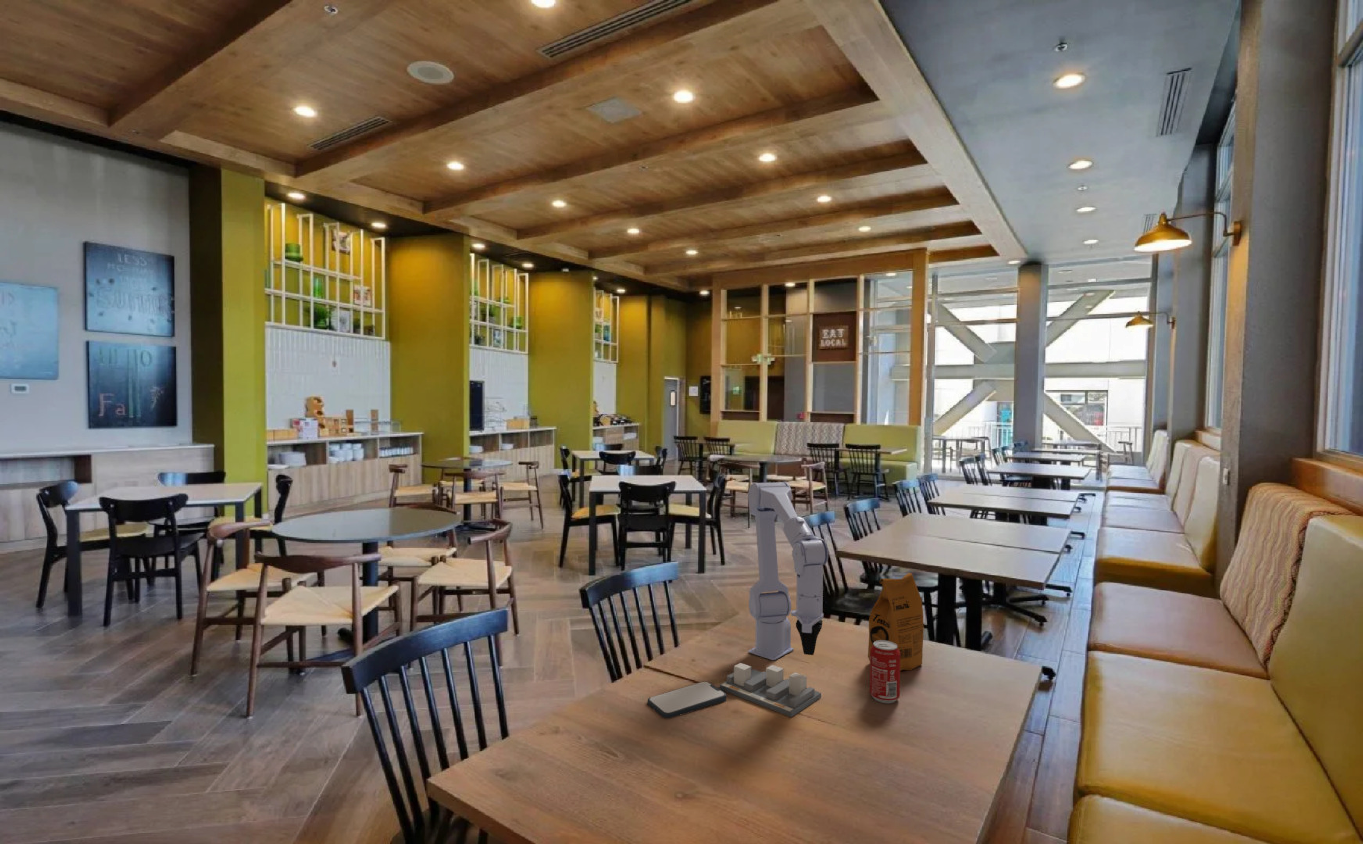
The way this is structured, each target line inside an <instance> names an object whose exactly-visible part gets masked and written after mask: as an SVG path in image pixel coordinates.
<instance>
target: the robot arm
mask: <svg viewBox="0 0 1363 844" xmlns="http://www.w3.org/2000/svg"><path fill="white" fill-rule="evenodd" d="M747 496H748V498H747V499H748V510H749V514H750V515H751V516H754V519H755V530H756V531H755V533H756V546H757V559H758V560H757V561H758V576H759V579H758V580H757V581H756V583H754V584H753V585H752V586H750V588H749V599H748V610H749V614H750V615H751V616H752V618H753V619H755V646H754V647H752V648H751V649H748V653H750V654H753V655H755V656H759V657H762V658H765V659H767V660H771V661H775V660H777V659H778V660H779V658H781V657H783V656H785V655H788V654H789V653H791V652H792V651H794V650H795V649H794V647H792V643H791V641H792V638H791V637H792V635H791V634H792V627H791V626H792V625H791V622H790V620H789V618H788V616H789V615H790V616H792V617H795V618H796V619H797V620H796V622H795V628H796V630H797V632H798V634H799V637H800V641H801V646H802V650H803V651H802V652H803V654H804V655H805V656H814V655H815V650H816V645H817V639H818V635H819V634H820V632H821V630H822V627H823V618H824V613H823V601H824V600H823V597H824V596H823V595H824V594H823V593H824V592H823V591H824V586H823V585H824V583H823V582H824V566H825V565H826V564H827V563H828V560H829V549H828V546H827V543H826V541H825V540H824V538H821V537H819V536H815V534H814V533H813V531H812V529H811V527H810V526H809V525H808V522H807V521H806V520H805V519H804V517H801V516H798V515H797V513H796V510H795V508H794V505H793V503H792V498H793V497H792V496H793V495H792V488H791V486H790V484H789V483H788V482H787V481H780V482H779V481H778V482H752V483H751V484H750V485H749V489H748V492H747ZM777 516H778V517H779V519H780V520H781V522H782V523H783V527H782V531H783V533H784V535H785V537H786V539H787V541H788V543H789V544H790V547H792V550H791V555H792V560H793V564H794V565H793V566H794V568H793V569H794V572H795V573H796V601H795V603H796V608H795V610H794V609H793V610H792V600H791V597H790V593H789V587H788V586H787V585H786V584H784V583H783V582H782V581H780V579H779V566H778V553H777V551H778V550H777V541H776V539H777V538H776V524H775V519H776V517H777Z"/></svg>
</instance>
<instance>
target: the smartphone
mask: <svg viewBox="0 0 1363 844" xmlns="http://www.w3.org/2000/svg"><path fill="white" fill-rule="evenodd" d="M726 700H727V692H725V691H723V690H720V689H719V687H717V686H715V685H714V684H712V683H711V682H709V681H705V680H704V681H700V682H697V683H694V684H689V685H687V686H684V687H681V688H677V689H674V690H671V691H667V692H664V693H661V694H658V695H653V696H651V697H649V698H647V702H646V703H647V705H648V707H650V708H651V709H652V710H653V711H655V712H656V713H657V714H659V715H660V717H661V718H664V719H673V718H675V717H678V715H679V716H681V715H680V714H682V715H685V714H689V713H692V712H695V711H699V710H702V709H704V707H705V708H707V707H711V706H710V705H712V706H715V705H717V703H718V704H720V703H724V702H725V701H726ZM714 704H715V705H714ZM701 708H702V709H701ZM698 709H699V710H698ZM691 711H692V712H691ZM688 712H689V713H688Z"/></svg>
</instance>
